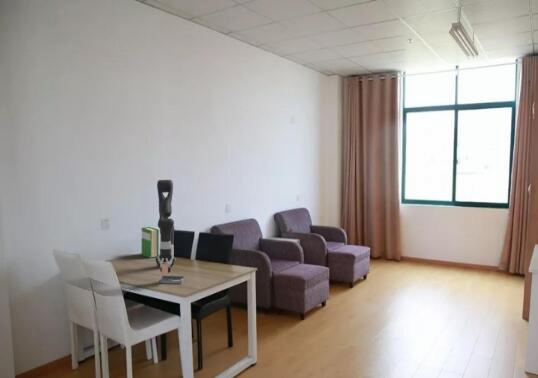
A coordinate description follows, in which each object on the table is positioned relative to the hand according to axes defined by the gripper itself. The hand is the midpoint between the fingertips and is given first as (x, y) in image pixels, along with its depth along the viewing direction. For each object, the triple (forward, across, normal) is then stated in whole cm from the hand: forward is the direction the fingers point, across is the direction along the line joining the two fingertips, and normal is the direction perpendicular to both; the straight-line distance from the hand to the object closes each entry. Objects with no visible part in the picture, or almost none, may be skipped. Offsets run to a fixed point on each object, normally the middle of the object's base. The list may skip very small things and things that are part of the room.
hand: (165, 272), depth 269 cm
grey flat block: (+7, -4, 0) cm, 8 cm away
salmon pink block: (+1, 0, 0) cm, 1 cm away
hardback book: (+6, +33, -75) cm, 82 cm away
